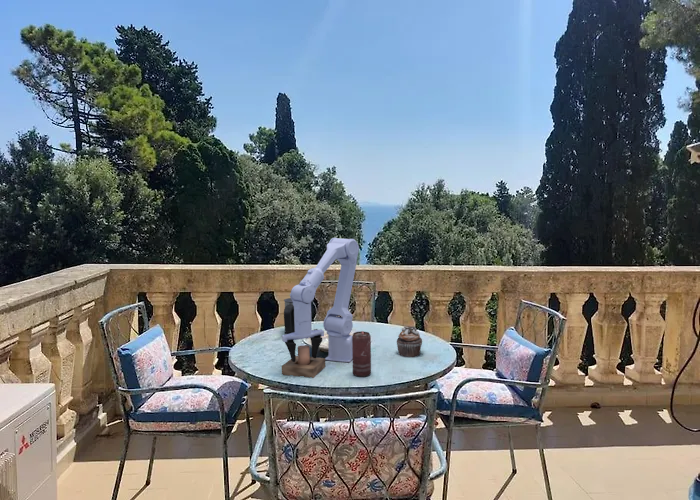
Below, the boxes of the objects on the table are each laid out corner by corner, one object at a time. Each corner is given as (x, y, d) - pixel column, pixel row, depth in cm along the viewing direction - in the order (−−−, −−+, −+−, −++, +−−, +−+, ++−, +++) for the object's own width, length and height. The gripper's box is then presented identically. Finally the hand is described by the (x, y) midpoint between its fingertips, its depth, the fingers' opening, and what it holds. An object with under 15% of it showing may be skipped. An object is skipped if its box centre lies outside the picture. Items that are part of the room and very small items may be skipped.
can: (370, 370, 178) (369, 330, 176) (371, 377, 171) (371, 335, 170) (352, 371, 177) (351, 330, 176) (353, 377, 171) (352, 335, 170)
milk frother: (285, 330, 232) (284, 297, 230) (321, 329, 232) (320, 296, 231) (282, 339, 218) (281, 304, 216) (320, 338, 218) (319, 303, 217)
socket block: (325, 366, 182) (325, 358, 182) (313, 377, 171) (313, 369, 171) (295, 363, 186) (295, 355, 185) (281, 374, 175) (281, 365, 174)
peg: (311, 368, 180) (311, 345, 179) (307, 372, 176) (306, 349, 175) (300, 367, 181) (300, 344, 180) (296, 371, 177) (295, 348, 176)
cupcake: (392, 351, 199) (392, 325, 198) (416, 349, 202) (416, 323, 200) (401, 358, 190) (401, 331, 189) (426, 356, 192) (426, 329, 191)
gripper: (317, 315, 183) (318, 352, 185) (278, 320, 177) (279, 359, 178) (326, 319, 177) (326, 358, 179) (285, 324, 171) (287, 365, 172)
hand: (303, 359), depth 178 cm, fingers open, 7 cm apart
